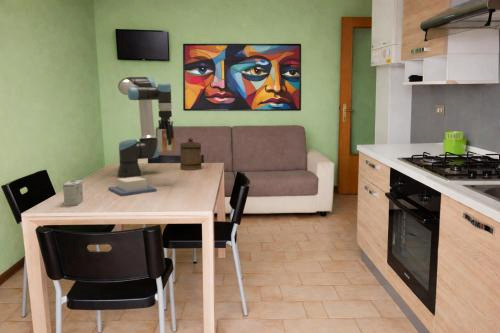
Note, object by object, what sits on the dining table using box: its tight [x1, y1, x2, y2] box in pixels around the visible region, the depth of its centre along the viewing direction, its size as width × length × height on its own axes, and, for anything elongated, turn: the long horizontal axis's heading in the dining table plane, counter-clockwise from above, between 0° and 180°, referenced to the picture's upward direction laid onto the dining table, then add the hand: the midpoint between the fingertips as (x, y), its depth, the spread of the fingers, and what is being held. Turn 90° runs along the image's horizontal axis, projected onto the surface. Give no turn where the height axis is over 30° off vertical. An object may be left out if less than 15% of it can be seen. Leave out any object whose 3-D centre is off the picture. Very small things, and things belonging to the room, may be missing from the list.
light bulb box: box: [62, 179, 84, 207], centre depth 237 cm, size 11×7×11 cm, turn 5°
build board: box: [107, 176, 157, 197], centre depth 266 cm, size 20×20×6 cm
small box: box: [157, 128, 176, 153], centre depth 279 cm, size 8×6×13 cm
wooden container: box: [179, 137, 202, 171], centre depth 339 cm, size 15×15×22 cm
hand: (166, 149), depth 279 cm, fingers closed on small box, 6 cm apart
